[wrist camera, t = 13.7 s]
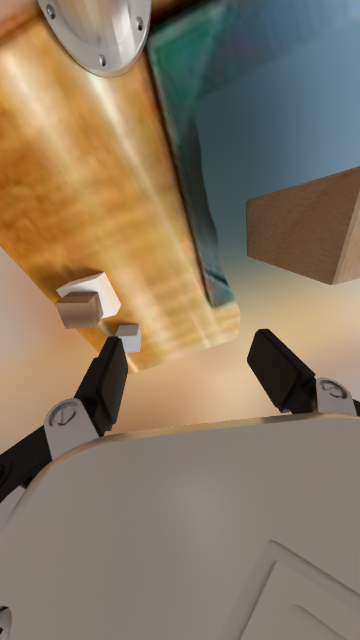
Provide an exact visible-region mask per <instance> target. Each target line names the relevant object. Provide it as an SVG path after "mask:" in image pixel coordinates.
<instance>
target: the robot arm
mask: <svg viewBox="0 0 360 640" xmlns="http://www.w3.org/2000/svg"><path fill="white" fill-rule="evenodd" d="M38 3H39V5H40V7H41V9H42V11H43V13H44V15H45V17H46V19H47V21H48V23H49V25H50V26H51V28H52V30H53V31H54V33H55V35H56V37H57V38H58V40H59V41H60V43H61V44H62V45H63V47H64V48H65V49H66V51H67V52H68V53H69V54H70V55H71V56H72V57H73V58H74V59H75V60H76V62H77V63H78V64H80V65H81V66H82V67H84V68H85V69H86V70H88V71H89V72H92V73H94V74H96V75H98V76H102V77H108V78H109V77H117V76H120V75H122V74H124V73H126V72H127V71H128V70H129V69H130V68H131V67H132V66H133V65H134V64H135V63H136V61H137V60H138V58H139V56H140V55H141V52H142V50H143V47H144V45H145V43H146V39H147V35H148V30H149V25H150V17H151V0H38ZM54 18H55V19H54ZM139 29H141V31H139ZM103 64H106V65H105V66H104V67H103ZM247 362H248V364H249V366H250V367H251V369H252V371H253V372H254V374H255V375H256V377H257V379H258V380H259V382H260V383H261V385H262V387H263V388H264V390H265V391H266V393H267V395H268V396H269V398H270V399H271V401H272V403H273V404H274V405H275V407H277V408H278V409H279V411H280V412H281V413H286V412H290V411H291V412H292V415H281V416H271V417H260V418H251V419H241V420H231V421H222V422H213V423H203V424H193V425H184V426H176V427H167V428H157V429H149V430H141V431H134V432H126V433H119V434H114V435H108V436H104V433H105V431H111V428H112V425H113V424H115V423H116V421H117V416H118V412H119V408H120V403H121V399H122V395H123V391H124V386H125V382H126V378H127V374H128V364H127V360H126V356H125V351H124V347H123V343H122V339H121V338H119V337H118V336H110V337H108V338H107V340H106V342H105V344H104V346H103V348H102V350H101V352H100V354H99V356H98V357H97V358H94V359H93V361H92V363H91V365H90V367H89V369H88V371H87V373H86V375H85V376H84V378H83V381H82V382H81V384H80V386H79V388H78V390H77V392H76V394H75V396H74V398H70V399H66V400H64V401H62V402H60V403H58V404H57V405H55V406H54V407H53V408H52V409H51V410H50V411H49V412H48V414H47V415H46V417H45V420H44V425H43V426H41V427H40V428H38V429H37V430H36V431H34V432H33V433H31V434H30V435H28V436H27V437H25V438H24V439H22V440H21V441H20V442H18V443H17V444H15V445H14V446H12V447H11V448H10V449H8V450H7V451H5V452H4V453H2V454H1V455H0V530H1V531H0V640H360V402H358V401H356V400H354V399H352V396H351V394H350V392H349V391H348V390H347V389H346V388H345V387H344V386H342V385H341V384H339V383H338V382H336V381H334V380H331V379H328V378H322V377H321V378H318V379H317V380H316V379H315V378H314V376H315V373H314V372H313V371H312V370H311V369H309V368H308V367H307V366H306V365H305V364H304V363H303V362H302V361H301V360H300V359H299V358H298V357H297V356H296V355H295V354H294V353H293V352H292V351H291V350H290V349H288V347H287V346H286V345H285V344H284V343H282V341H280V340H279V339H278V338H277V337H276V336H275V335H274V334H273V333H272V332H271V331H270V330H269V329H259V330H258V331H257V332H256V333H255V336H254V339H253V342H252V345H251V348H250V351H249V354H248V357H247ZM103 436H104V437H103Z"/></svg>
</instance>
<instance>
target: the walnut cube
mask: <svg viewBox="0 0 360 640" xmlns="http://www.w3.org/2000/svg"><path fill="white" fill-rule="evenodd" d="M55 305H56V307H57V309H58V312H59V314H60V316H61V319H62V321H63V324H64V326H65V328H95V327H96V325H97V324H98V322H99V321H100V319H101V318H102V316H103V315H104V314H103V310H102V306H101V302H100V298H99V294H98V292H69V293H68V294H67V295H65V296H64V297H63V298H61V299H60V300H58V301H57V302H56V303H55Z"/></svg>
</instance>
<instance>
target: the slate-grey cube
mask: <svg viewBox="0 0 360 640" xmlns="http://www.w3.org/2000/svg"><path fill="white" fill-rule="evenodd" d="M115 336H118V337H119V338H121V339H122V343H123V347H124V351H125V353H127V352H140V346H141V341H142V338H141V332H140V325H139V324H134V325H119V328H118V330H117V332H116V335H115Z"/></svg>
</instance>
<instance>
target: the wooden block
mask: <svg viewBox="0 0 360 640" xmlns="http://www.w3.org/2000/svg"><path fill="white" fill-rule="evenodd" d="M246 224H247V255H248V256H249V257H251V258H254V259H257V260H260V261H263V262H266V263H269V264H271V265H274V266H278V267H280V268H283V269H286V270H289V271H291V272H295V273H297V274H300V275H303V276H306V277H309V278H312V279H314V280H317V281H320V282H323V283H326V284H329V285H336V284H340V283H343V282H347V281H351V280H354V279H358V278H360V166H359V167H356V168H353V169H350V170H346V171H343V172H340V173H336V174H333V175H329V176H326V177H323V178H320V179H316V180H313V181H310V182H306V183H303V184H300V185H297V186H293V187H290V188H287V189H283V190H280V191H277V192H273V193H270V194H267V195H264V196H261V197H257V198H254V199H251V200H248V201H247V203H246Z"/></svg>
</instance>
